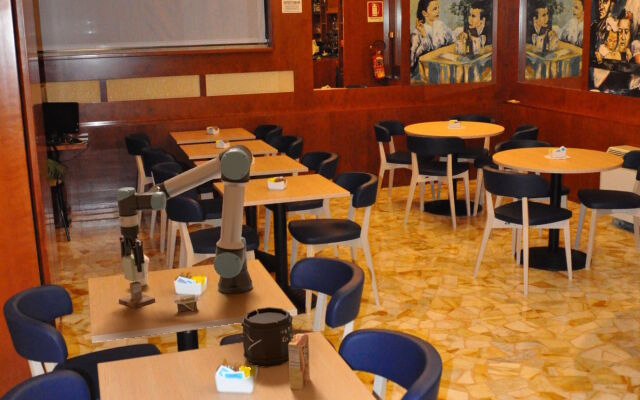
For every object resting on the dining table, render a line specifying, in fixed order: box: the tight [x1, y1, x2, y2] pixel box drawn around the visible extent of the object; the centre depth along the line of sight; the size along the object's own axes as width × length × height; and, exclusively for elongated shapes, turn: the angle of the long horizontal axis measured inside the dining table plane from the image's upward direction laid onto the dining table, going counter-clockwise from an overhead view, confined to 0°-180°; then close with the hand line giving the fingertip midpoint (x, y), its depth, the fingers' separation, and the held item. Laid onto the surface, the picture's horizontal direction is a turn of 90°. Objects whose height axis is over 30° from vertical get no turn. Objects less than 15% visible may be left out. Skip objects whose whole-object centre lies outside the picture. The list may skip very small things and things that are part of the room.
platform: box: [173, 294, 200, 312], centre depth 324 cm, size 12×18×7 cm, turn 110°
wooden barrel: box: [240, 306, 294, 368], centre depth 274 cm, size 18×18×16 cm
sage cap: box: [122, 253, 145, 282], centre depth 334 cm, size 6×6×10 cm
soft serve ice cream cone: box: [136, 252, 150, 287], centre depth 358 cm, size 8×8×16 cm
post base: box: [118, 281, 156, 309], centre depth 336 cm, size 12×10×8 cm
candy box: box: [288, 333, 311, 391], centre depth 254 cm, size 9×4×15 cm, turn 163°
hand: (134, 277), depth 335 cm, fingers closed on sage cap, 6 cm apart
